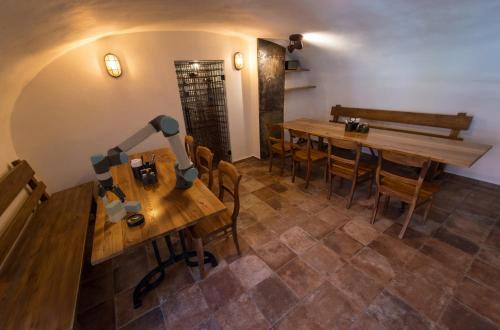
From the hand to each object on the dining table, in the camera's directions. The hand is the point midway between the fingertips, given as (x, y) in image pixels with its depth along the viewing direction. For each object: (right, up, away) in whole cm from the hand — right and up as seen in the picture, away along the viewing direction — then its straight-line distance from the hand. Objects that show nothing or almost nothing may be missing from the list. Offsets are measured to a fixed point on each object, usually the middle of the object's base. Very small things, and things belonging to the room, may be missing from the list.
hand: (115, 205), depth 138 cm
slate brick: (+6, -6, +12) cm, 14 cm away
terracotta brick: (-4, -5, +14) cm, 15 cm away
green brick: (0, -4, +1) cm, 4 cm away
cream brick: (0, -9, +3) cm, 10 cm away
